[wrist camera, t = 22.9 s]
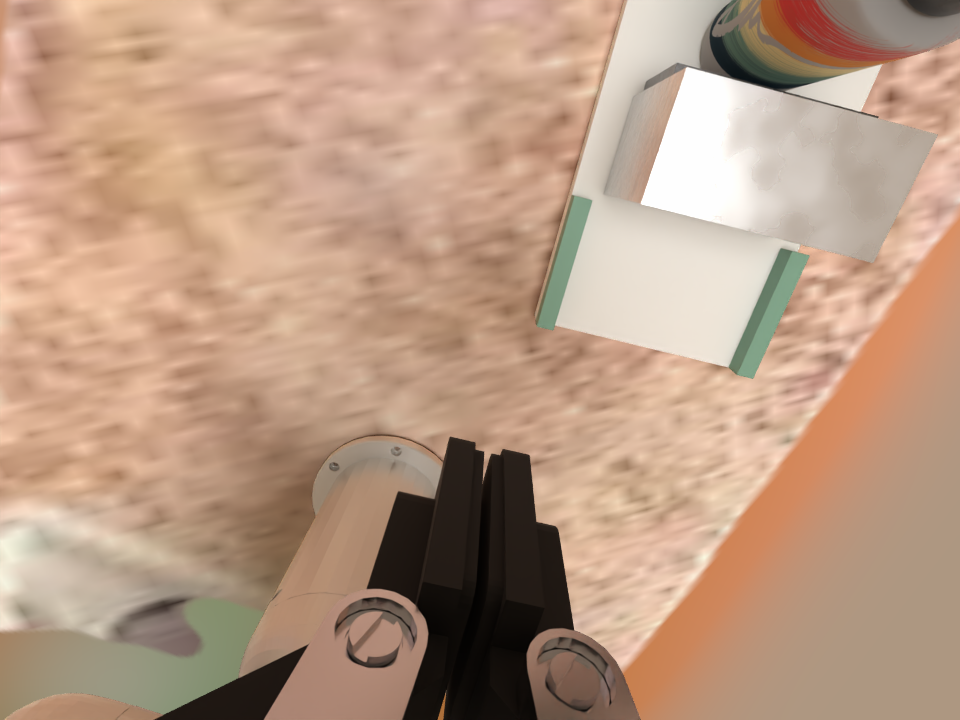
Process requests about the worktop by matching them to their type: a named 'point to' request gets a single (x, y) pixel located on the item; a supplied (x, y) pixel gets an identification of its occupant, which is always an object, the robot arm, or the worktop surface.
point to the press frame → (668, 222)
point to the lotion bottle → (822, 37)
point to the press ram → (766, 161)
